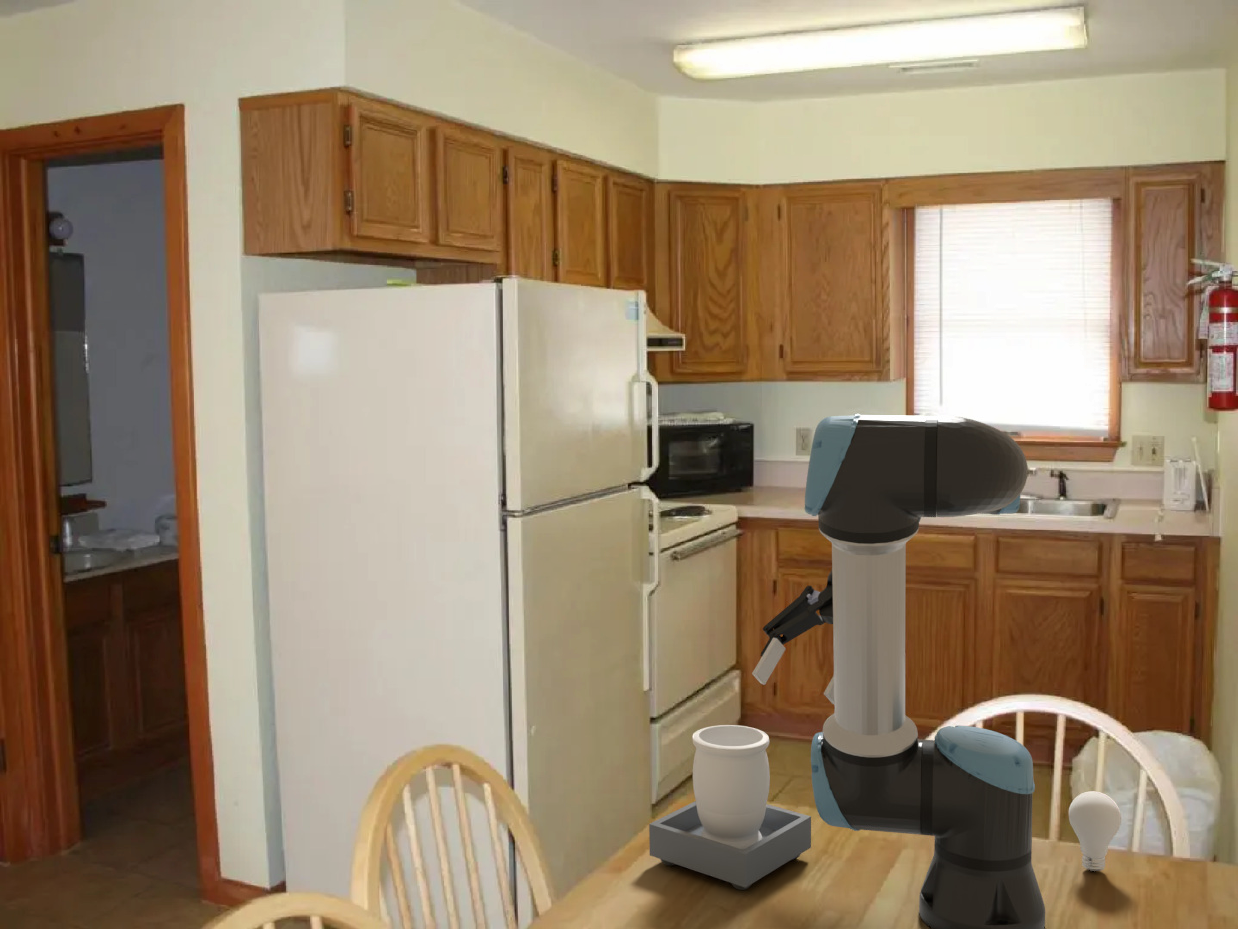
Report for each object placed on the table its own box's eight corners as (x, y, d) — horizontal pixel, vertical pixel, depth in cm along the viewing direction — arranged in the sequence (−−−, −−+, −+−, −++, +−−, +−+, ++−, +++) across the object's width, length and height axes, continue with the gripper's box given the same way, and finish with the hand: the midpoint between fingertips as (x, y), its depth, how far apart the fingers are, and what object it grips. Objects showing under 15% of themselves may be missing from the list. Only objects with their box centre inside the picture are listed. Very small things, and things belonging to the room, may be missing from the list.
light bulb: (1061, 874, 169) (1063, 795, 168) (1074, 857, 175) (1076, 780, 174) (1112, 886, 166) (1115, 806, 164) (1125, 868, 171) (1127, 790, 170)
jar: (680, 847, 173) (679, 741, 171) (711, 820, 182) (710, 720, 180) (753, 862, 168) (752, 753, 166) (780, 833, 177) (780, 730, 175)
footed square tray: (811, 858, 176) (811, 816, 175) (745, 898, 164) (745, 854, 163) (717, 829, 186) (717, 790, 185) (649, 865, 174) (649, 824, 173)
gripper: (941, 598, 180) (874, 723, 172) (809, 574, 199) (743, 685, 191) (919, 567, 176) (849, 693, 168) (786, 545, 195) (718, 657, 187)
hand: (793, 689), depth 180 cm, fingers open, 13 cm apart
